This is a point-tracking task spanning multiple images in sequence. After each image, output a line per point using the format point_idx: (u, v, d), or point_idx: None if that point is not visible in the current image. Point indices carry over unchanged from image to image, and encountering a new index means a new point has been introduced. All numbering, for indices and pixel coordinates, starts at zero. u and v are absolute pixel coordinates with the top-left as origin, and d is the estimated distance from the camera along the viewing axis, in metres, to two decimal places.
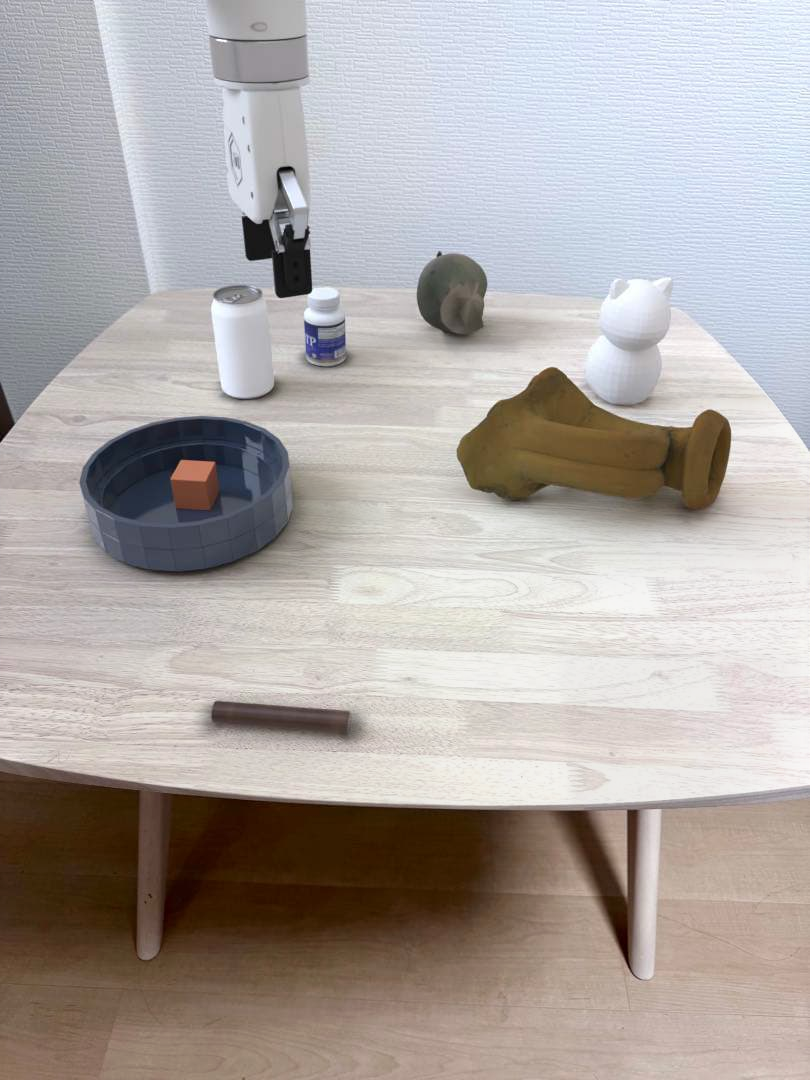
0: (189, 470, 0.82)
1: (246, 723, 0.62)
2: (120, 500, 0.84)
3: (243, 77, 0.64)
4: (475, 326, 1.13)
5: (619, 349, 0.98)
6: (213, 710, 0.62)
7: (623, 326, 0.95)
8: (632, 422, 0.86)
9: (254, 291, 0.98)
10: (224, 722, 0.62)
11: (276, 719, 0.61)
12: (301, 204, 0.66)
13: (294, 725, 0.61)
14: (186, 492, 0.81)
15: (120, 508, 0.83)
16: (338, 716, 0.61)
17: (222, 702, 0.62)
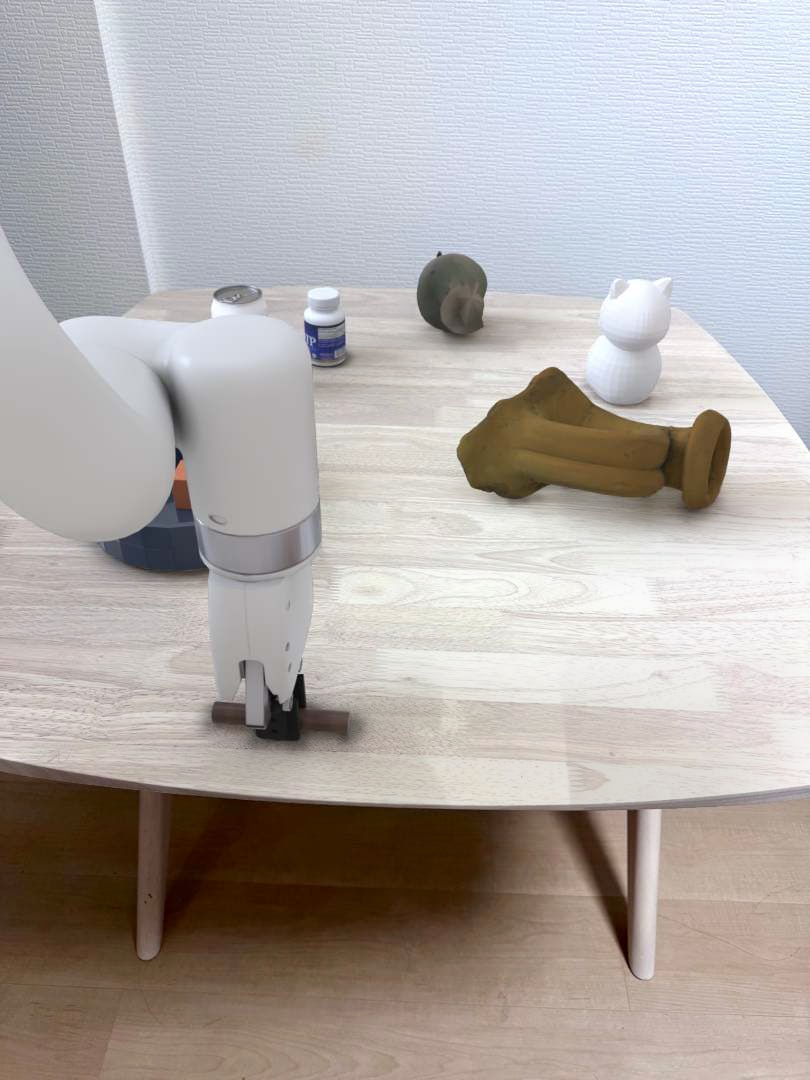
0: None
1: None
2: None
3: (211, 559, 0.49)
4: (475, 326, 1.13)
5: (619, 349, 0.98)
6: (213, 713, 0.61)
7: (623, 326, 0.95)
8: (632, 422, 0.86)
9: (254, 291, 0.98)
10: (225, 723, 0.62)
11: None
12: (257, 723, 0.54)
13: None
14: (186, 492, 0.81)
15: None
16: (338, 719, 0.61)
17: (221, 704, 0.62)
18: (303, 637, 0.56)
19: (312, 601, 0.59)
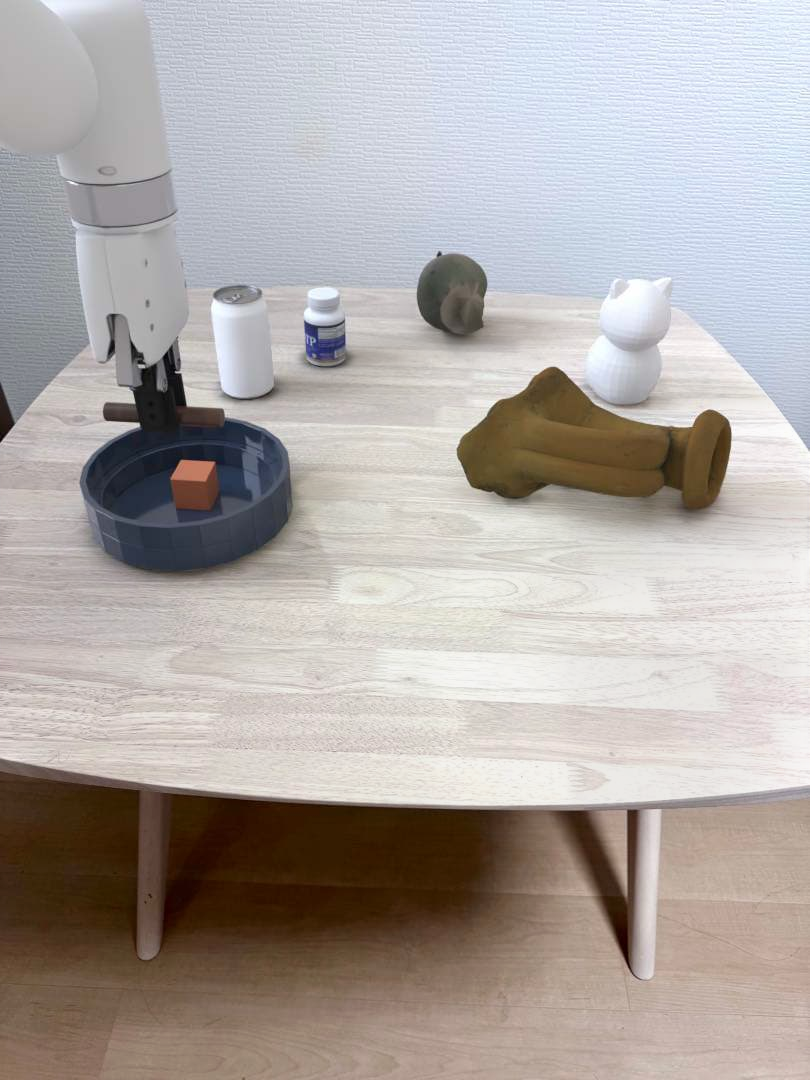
0: (189, 470, 0.82)
1: (133, 420, 0.71)
2: (120, 500, 0.84)
3: (77, 217, 0.59)
4: (475, 326, 1.13)
5: (619, 349, 0.98)
6: (104, 409, 0.71)
7: (623, 326, 0.95)
8: (632, 422, 0.86)
9: (254, 291, 0.98)
10: (115, 420, 0.71)
11: None
12: (126, 379, 0.63)
13: None
14: (186, 492, 0.81)
15: (120, 508, 0.83)
16: (211, 412, 0.70)
17: (112, 403, 0.71)
18: (170, 317, 0.65)
19: (185, 303, 0.69)
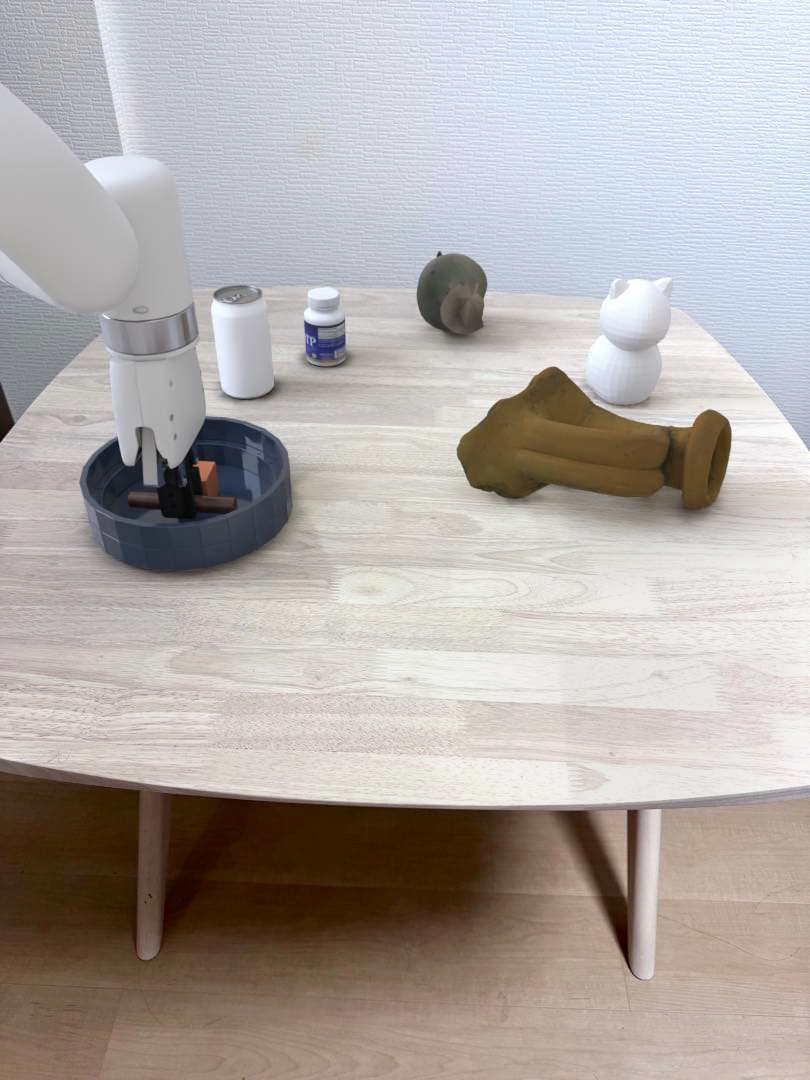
0: None
1: (155, 508, 0.79)
2: (120, 500, 0.84)
3: (111, 345, 0.67)
4: (475, 326, 1.13)
5: (619, 349, 0.98)
6: (129, 498, 0.79)
7: (623, 326, 0.95)
8: (632, 422, 0.86)
9: (254, 291, 0.98)
10: (139, 507, 0.79)
11: None
12: (152, 481, 0.71)
13: None
14: None
15: (120, 508, 0.83)
16: (226, 502, 0.78)
17: (136, 492, 0.79)
18: (190, 423, 0.73)
19: (203, 406, 0.77)
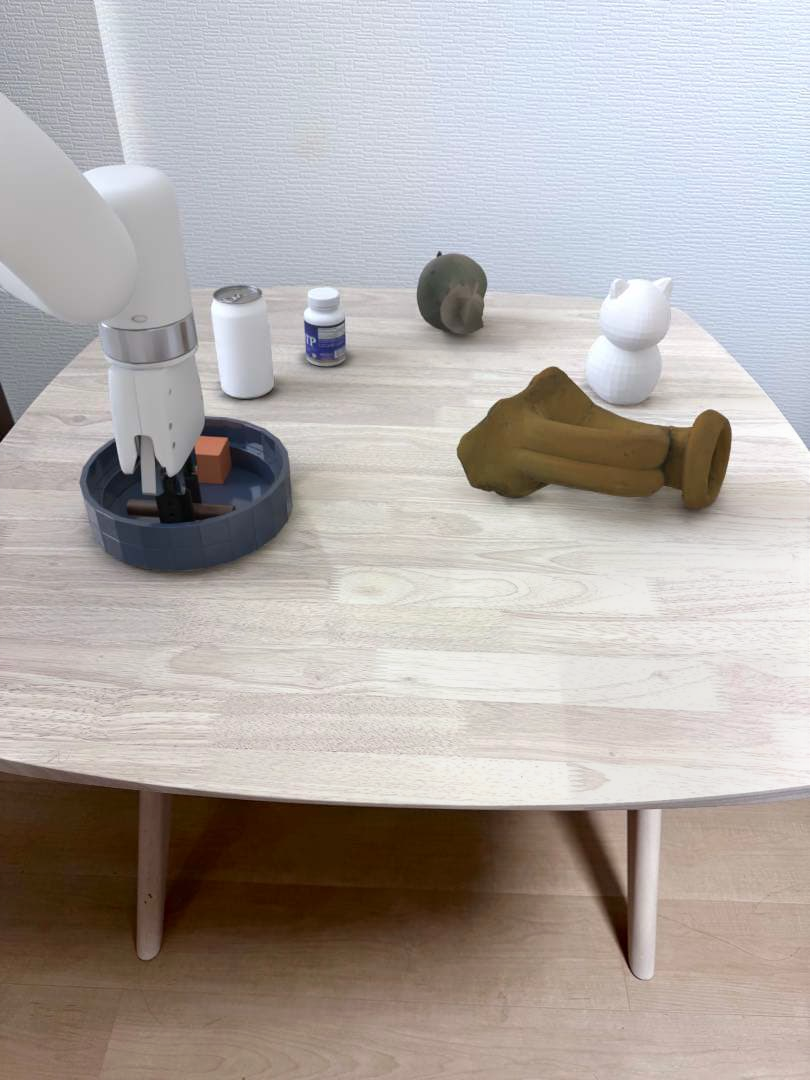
0: (203, 445, 0.86)
1: (154, 516, 0.79)
2: (120, 500, 0.84)
3: (110, 353, 0.66)
4: (475, 326, 1.13)
5: (619, 349, 0.98)
6: (127, 506, 0.79)
7: (623, 326, 0.95)
8: (633, 422, 0.86)
9: (254, 291, 0.98)
10: (137, 515, 0.79)
11: None
12: (150, 490, 0.71)
13: None
14: (200, 466, 0.85)
15: (120, 508, 0.83)
16: (224, 510, 0.78)
17: (134, 500, 0.79)
18: (189, 431, 0.73)
19: (202, 414, 0.77)
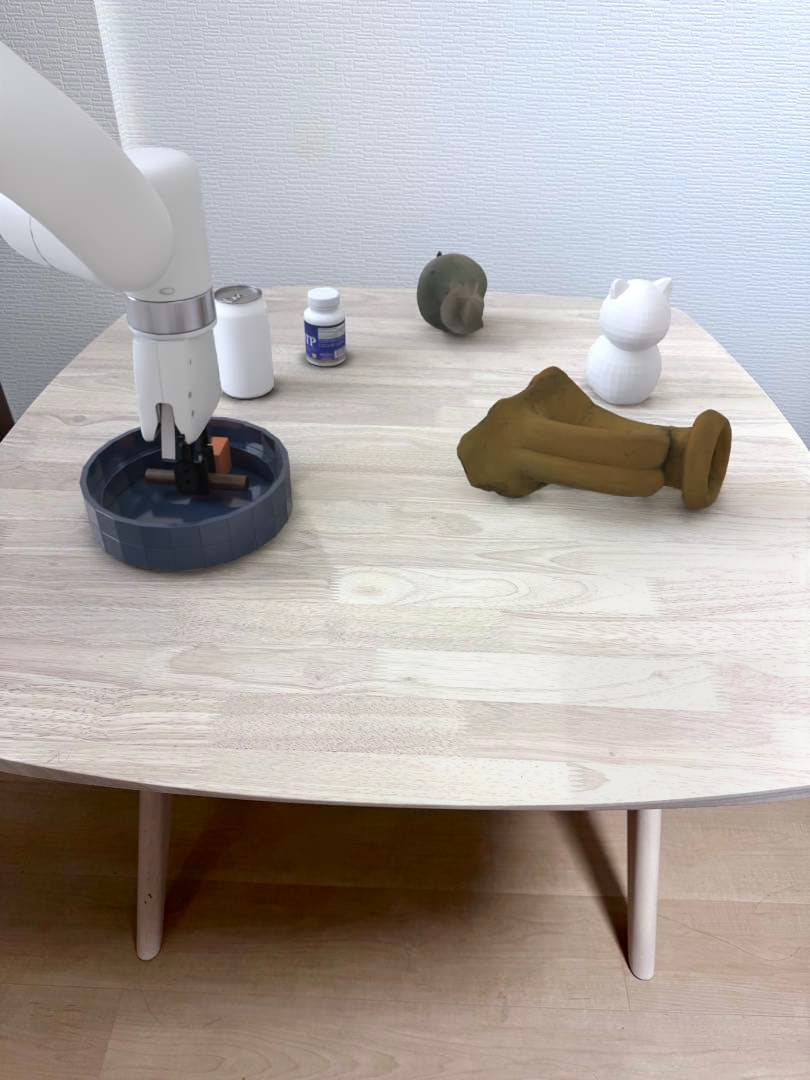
0: None
1: (171, 484, 0.83)
2: (120, 500, 0.84)
3: (134, 325, 0.71)
4: (475, 326, 1.13)
5: (619, 349, 0.98)
6: (146, 475, 0.83)
7: (623, 326, 0.95)
8: (633, 421, 0.86)
9: (254, 291, 0.98)
10: (155, 484, 0.83)
11: None
12: (170, 455, 0.75)
13: None
14: None
15: (120, 508, 0.83)
16: (238, 479, 0.82)
17: (153, 469, 0.83)
18: (206, 402, 0.77)
19: (218, 387, 0.81)
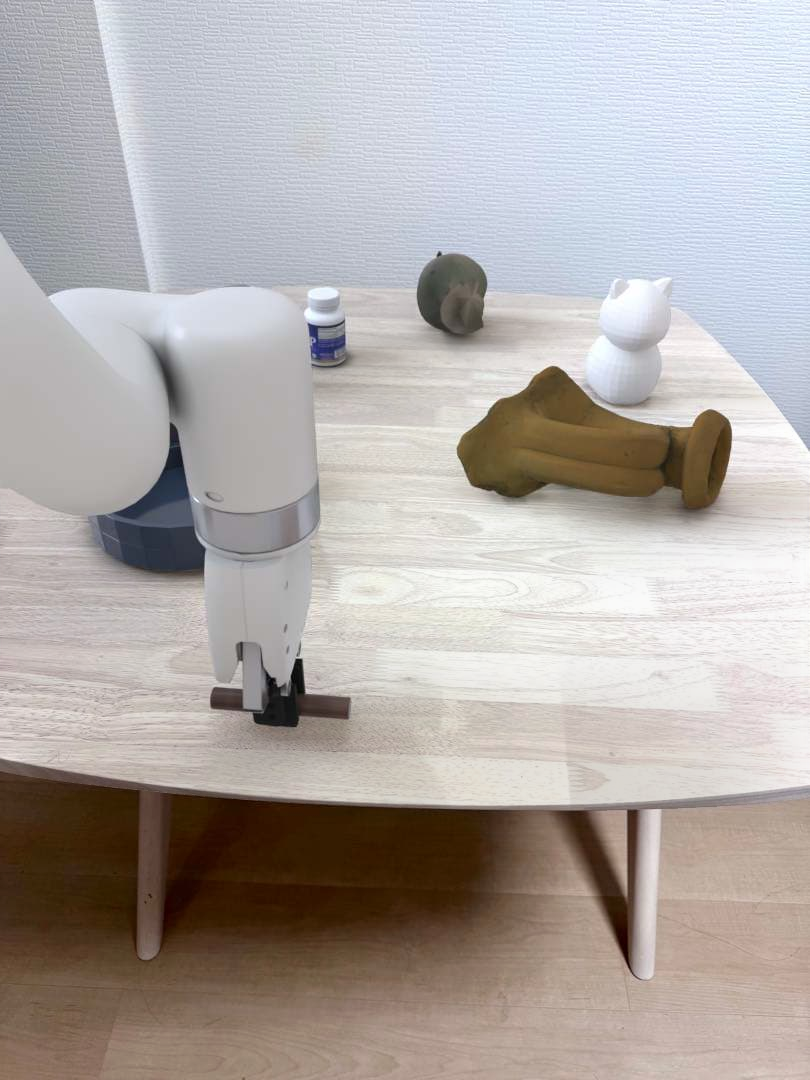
0: None
1: None
2: None
3: (207, 538, 0.48)
4: (475, 326, 1.13)
5: (619, 349, 0.98)
6: (211, 699, 0.60)
7: (623, 326, 0.95)
8: (633, 421, 0.86)
9: None
10: (223, 709, 0.61)
11: None
12: (254, 706, 0.53)
13: None
14: None
15: None
16: (339, 705, 0.60)
17: (220, 690, 0.61)
18: (301, 620, 0.55)
19: (311, 584, 0.59)
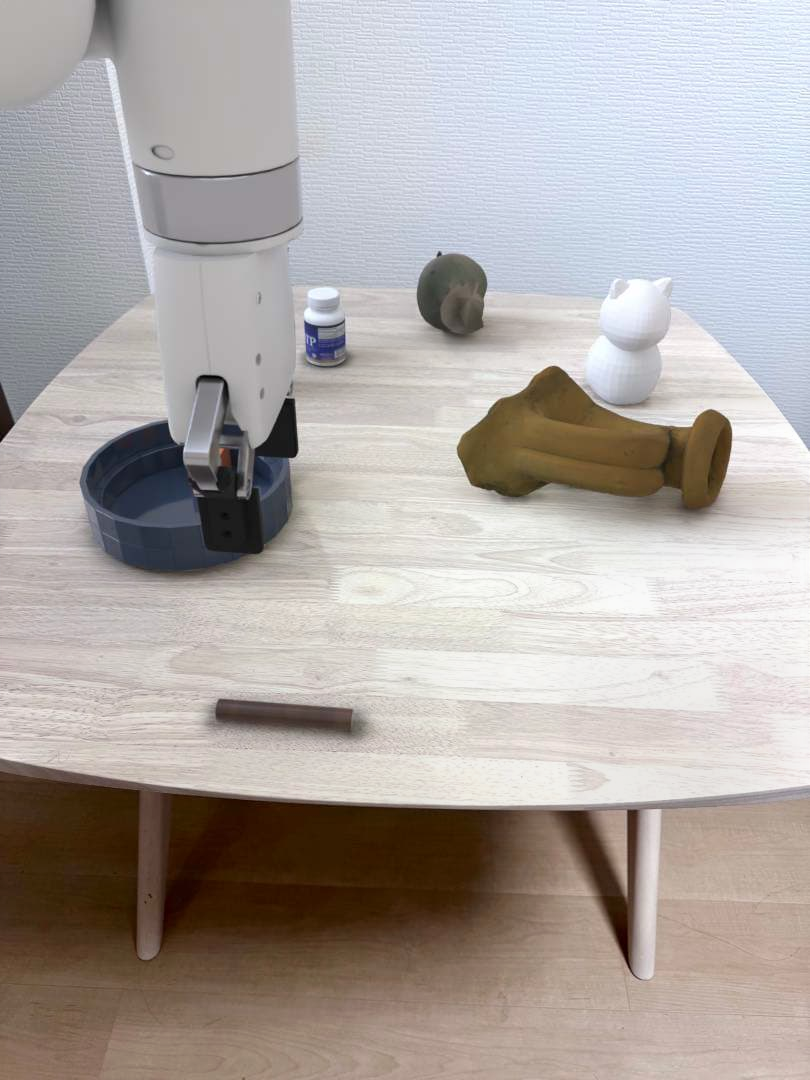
0: None
1: (250, 720, 0.62)
2: (120, 500, 0.84)
3: (156, 228, 0.38)
4: (475, 326, 1.13)
5: (619, 349, 0.98)
6: (217, 707, 0.62)
7: (623, 326, 0.95)
8: (633, 421, 0.86)
9: None
10: (228, 719, 0.62)
11: (280, 716, 0.61)
12: (200, 448, 0.38)
13: (298, 722, 0.61)
14: None
15: (120, 508, 0.83)
16: (342, 713, 0.61)
17: (226, 699, 0.62)
18: (281, 374, 0.44)
19: (294, 351, 0.48)
